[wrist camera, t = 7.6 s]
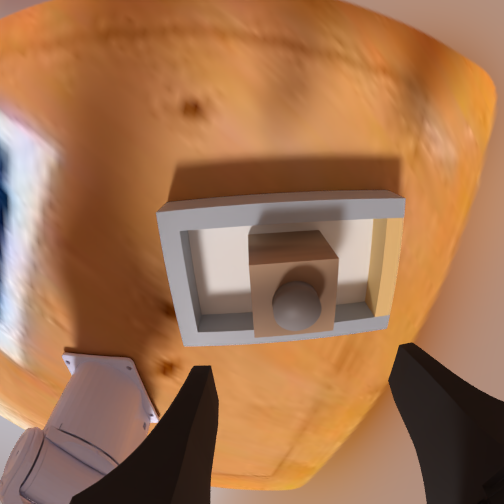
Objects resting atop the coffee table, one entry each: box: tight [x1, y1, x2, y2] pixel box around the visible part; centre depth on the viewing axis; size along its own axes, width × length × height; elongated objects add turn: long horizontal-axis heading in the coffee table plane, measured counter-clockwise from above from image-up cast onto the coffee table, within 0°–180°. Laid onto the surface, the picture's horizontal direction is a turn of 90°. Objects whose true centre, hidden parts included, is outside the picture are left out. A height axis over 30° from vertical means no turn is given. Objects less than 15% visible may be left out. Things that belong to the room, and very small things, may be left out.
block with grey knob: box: [248, 230, 339, 338], centre depth 17 cm, size 4×4×6 cm
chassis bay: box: [156, 190, 405, 346], centre depth 19 cm, size 9×14×2 cm, turn 94°
